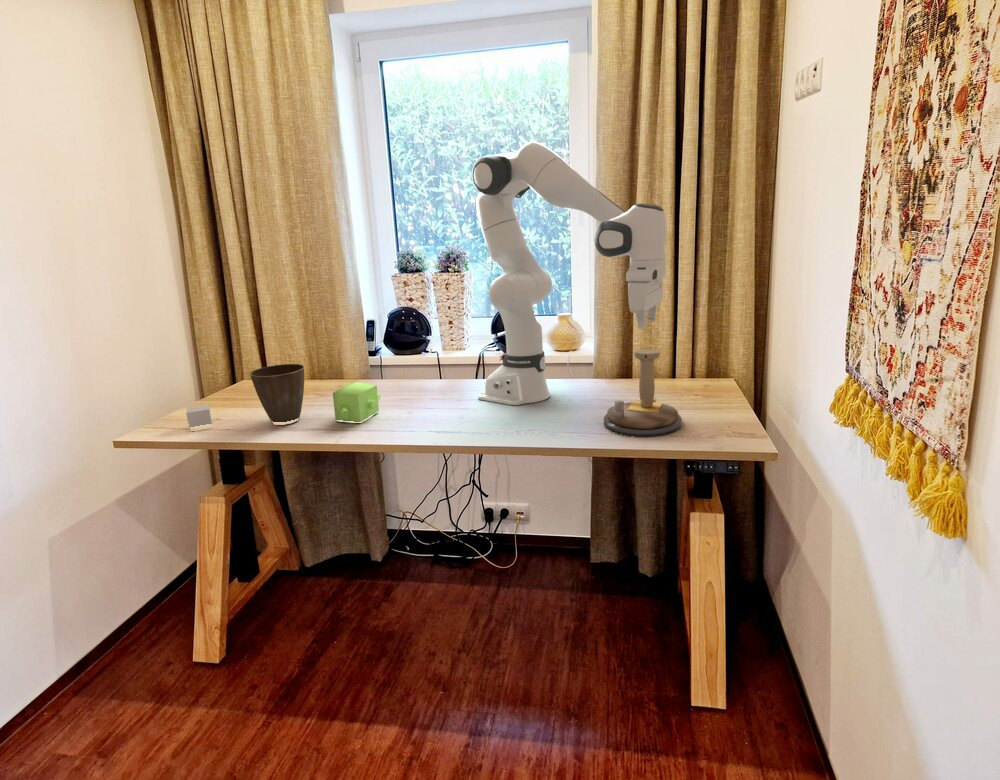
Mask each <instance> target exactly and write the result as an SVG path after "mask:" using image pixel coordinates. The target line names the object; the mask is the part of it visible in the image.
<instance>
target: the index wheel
mask: <svg viewBox="0 0 1000 780" xmlns="http://www.w3.org/2000/svg"><path fill="white" fill-rule="evenodd" d="M640 402H641V400H638V401H637V400H633V401H631V402H625V401H624V400H620V399H619V400H614V405H613V406H611V407H609V409H607V412H606V414H607V418H608V420H609V421H610V422H611V423H613V424H615V425H618V426H621V427H626V428H633V429H655V428H662V427H666V426H669V425H672V424H674V423H675V422H676V421H677V420H678V415H679V412H678V410H677V409H676V408H675V407H674V406H670V405H668V404H665V403H663V402H658V401H656V402H653V405H652V407H648V408H645V407H642V406H641V404H640Z"/></svg>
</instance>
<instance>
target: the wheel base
mask: <svg viewBox="0 0 1000 780" xmlns="http://www.w3.org/2000/svg"><path fill="white" fill-rule="evenodd" d="M653 402H657V398H654V399H653ZM682 420H683V419H682V417H681V416H680V415H679V414H678V420H677V421H676V422H675V423H674V424H672V425H669V426H666V427H662V428H655V429H633V428H626V427H621V426H618V425H615V424H613V423H611V422H610V421H609V420H608V418H607V413H606V414H605V415H604V416H603V427H604V426H605V427H604V428H605V429H606V430H607V429H608V430H607V431H609V430H610V431H609V432H611V431H612V432H611V433H613V432H615V433H614V434H616V433H617V435H620V434H622V435H621V436H624V435H626V436H625V437H631V436H634V438H655V437H656V436H657V437H662V436H663V437H664V436H668V435H670V434H674V433H676V432H677V430H678V431H679V430H681V428H682V426H683V425H682V424H683V423H682ZM657 437H656V438H657Z"/></svg>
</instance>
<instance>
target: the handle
mask: <svg viewBox="0 0 1000 780" xmlns="http://www.w3.org/2000/svg"><path fill="white" fill-rule="evenodd" d="M633 353H634V354H633V355H634V357H635V359H638V360H639V363H640V365H639V367H640V368H639V382H638V383H639V384H638V393H639V401H641V402H640V404H641V406H642V407H645V408H648V407H652V405H653V399H655V390H656V389H655V387H656V385H655V371H654V370H655V369H654V361H655V360H656V359H658V358H659V357H660V350H659V349H636V350H634V352H633Z"/></svg>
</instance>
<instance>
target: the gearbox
mask: <svg viewBox="0 0 1000 780" xmlns="http://www.w3.org/2000/svg"><path fill="white" fill-rule="evenodd" d="M381 396H382V395H381V392H378V387H377V384H373V383H366V382H365V383H363V382H350V383H348V384H346V385H344V386H342V387H340V388H339V389H337V390H335V391H333V392H332V399H333V400H332V401H333V408H334V409H333V410H334V416H335V421H336V420H343V421H354V422H361V421H363V420H364V419H366V418H368V417H369V416H371V415H373V414H375V413H376V412H378V411H379V412H380V408H379V400H381V398H382V397H381Z"/></svg>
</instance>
